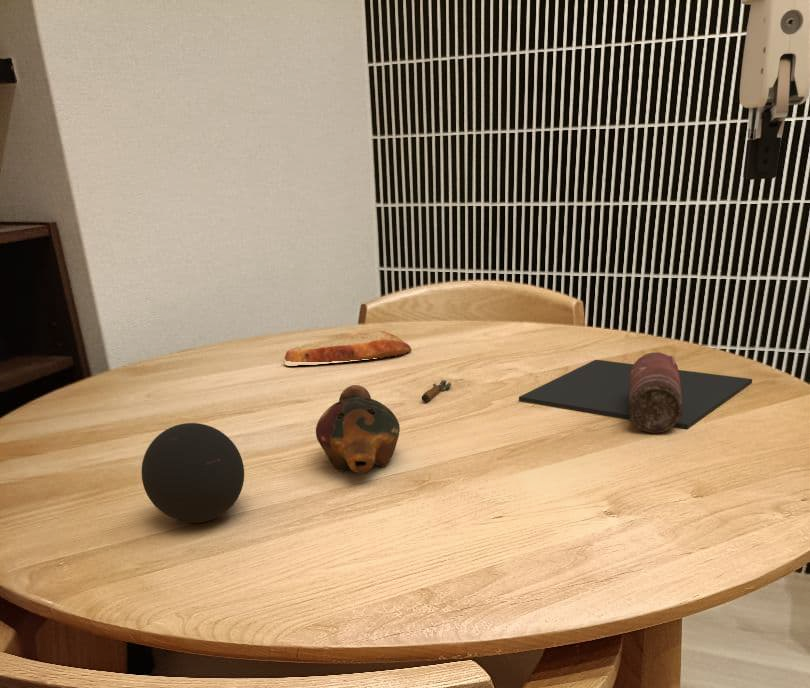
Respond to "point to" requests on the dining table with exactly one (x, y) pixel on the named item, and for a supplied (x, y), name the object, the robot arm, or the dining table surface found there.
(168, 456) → the speaker
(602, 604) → the dining table surface
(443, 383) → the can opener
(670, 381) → the can
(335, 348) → the bread slice
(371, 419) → the decorative turtle
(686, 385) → the mat
